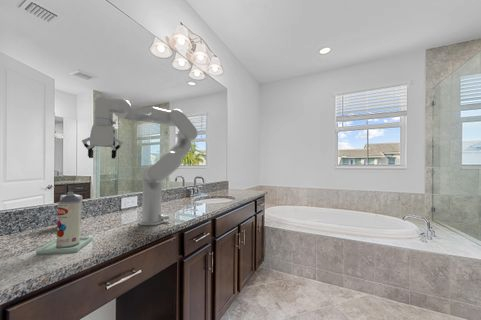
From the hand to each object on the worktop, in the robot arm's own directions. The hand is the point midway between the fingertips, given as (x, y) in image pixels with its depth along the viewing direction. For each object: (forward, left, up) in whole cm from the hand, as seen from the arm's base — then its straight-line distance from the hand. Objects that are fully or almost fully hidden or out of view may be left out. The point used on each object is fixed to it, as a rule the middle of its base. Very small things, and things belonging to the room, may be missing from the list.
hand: (102, 158), depth 102 cm
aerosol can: (+3, +22, -34) cm, 40 cm away
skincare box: (+16, -8, -34) cm, 39 cm away
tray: (+3, +22, -34) cm, 41 cm away
